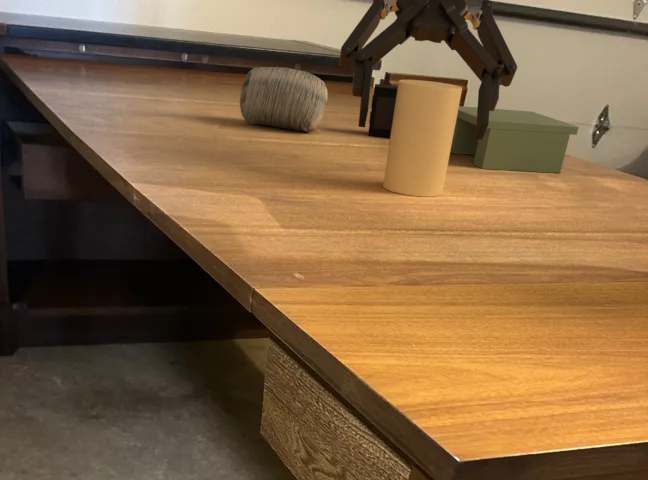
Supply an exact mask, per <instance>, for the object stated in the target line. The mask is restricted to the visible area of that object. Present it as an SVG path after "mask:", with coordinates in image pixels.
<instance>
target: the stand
mask: <svg viewBox="0 0 648 480" xmlns="http://www.w3.org/2000/svg"><path fill="white" fill-rule="evenodd" d="M477 108H478V106H477V107H476V106H475V107H474V106H464V105H463V106H461V105H459V108H458V114H457V119H456V124H455V129H454V135H453V140H452V145H451V150H450V154H452V153H453V155H455V154H456V155H469V154H470V155H469V156H474V160H473V166H476V167H478V168H480V169H482V170H499V171H516V172H533V173H551V174H561V171H562V168H563V164H564V160H565V156H566V152H567V148H568V143H569V141H570V137H571V135H572V136H573V135H574V136H577V135H578V131H579V128H580V127H579V126H577V125H574V124H571V123H568V122H565V121H562V120H559V119H555V118H553V117H549V116H547V115H544V114H541V113H538V112H535V111H529V110H515V109H503V108H495V109H494V111H489V124H488V127H487V129H486V131H485V134H484V136H483V139H482V140H479V139H476V124H477Z"/></svg>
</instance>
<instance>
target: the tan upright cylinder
mask: <svg viewBox="0 0 648 480" xmlns="http://www.w3.org/2000/svg"><path fill="white" fill-rule="evenodd" d="M397 86H398V90H397V97H396V103H395V110H394V117H393V123H392V130H391V136H390V138H389V143H388V150H387V158H386V163H385V170H384V177H383V182H382V186H383V188H384V189H385V190H387V191H390V192H392V193H396V194H399V195H400V194H401V195H404V196H405V195H406V196H411V197H412V196H413V197H424V198H425V197H427V198H428V197H439V196H441V195H443V192H444V186H445V181H446V175H447V171H448V165H449V160H450V156H451V153H450V150H451V145H452V140H453V135H454V129H455V124H456V119H457V114H458V108H459V106H460V104H461V103H460V102H461V99H462V98H461V97H462V92H463V87H462V86H459V85H456V84H450V83H445V82H439V81H431V80H420V79H400V80H399V79H398V83H397Z"/></svg>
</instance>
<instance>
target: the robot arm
mask: <svg viewBox="0 0 648 480" xmlns="http://www.w3.org/2000/svg"><path fill="white" fill-rule="evenodd" d="M372 1H373V2H372V4H371V5H370V7H368V9H367V11H366V12H365V14H364V15H363V16H362V18H361V19H360V21H359V22H358V23H357V25H356V26H355V27H354V29H353V30H352V31H351V33H350V34H349V35H348V37H347V38H346V40H345V41H344V42H343V44H342V46H341V47H340V54H339V62H338V67H339V68H340V69H342V70H347V69H350V70H351V71H352V88H351V93H352V96H353V97H357V98H358V97H359V98H360V107H359V116H358V124H357V125H358V128H365V127H366V123H367V118H368V113H369V105H370V94H371V82H372V72H373V71H372V70H373V67H374V66H375V65H376V64H377V63H378V62H379V61H381V60H382V59H383V58H384V57H385V56H386V55H388V54H389V53H390V52H391V51H393V50H394V49H395V48H396V47H397V46H398V45H400V46H401V45H403V44H404V43H405V42H407V40H409V39H410V38H412V39H414V41H416V42H426V41H429V42H432V43H435V44H442V42H444V43H445V44H446V45H447V46H448V48H449V49H450V50H451V51H455V52H456V53H457V54H458V55H459V57H460V58H461V59H462V60H463V62H464V63H465V64H466V65H467V66H468V67H469V69H470V70H471V71H472V72H473V74H474V75H475V76H476V78H477V79H478V80H479V81H480V85H479V87H478V95H477V124H476V139H479V140H482V139H483V136H484V134H485V131H486V129H487V127H488V124H489V111H494V109H496V107H497V105H498V102H499V100H500V86H502V87H505V88H507V87H509V86H511V84H512V82H513V80H514V77H515V75H516V72H517V70H518V65H517V62H516V60H515V58H514V57H513V54H512V52H511V50H510V48H509V46H508V44H507V42H506V40H505V38H504V36H503V34H502V32H501V30H500V28H499V25H498V24H497V22H496V19H495V18H494V11H493V10H494V9H493V3H492V1H491V0H483V1H482V2H481V5H469V4H468V2H467V0H372ZM391 12H394V14H395V16H396V19H395V20H394V21H393V22H392V23H391V24H389V25H388V26H387V27H386V28H385V29H384V30H382V31H381V32H380V33H379V34H378V35H376V36H375V37H374V38H373V39H372V40H370V41H369V39H370V38H371V36H372V35H373V34H374V32H375V31H376V29H377V28H378V27H379V24H380V22H381V20H383V21H384V20H385V19H386V17H388V16H389V14H390V13H391ZM467 20H468V21H470V23H471V25H472V29H473V30H474V31H476V32H477V36H478V39H479V40H478V39H477V37H476V36H475V34H474V33H473V32H472V31H471V30H470V28H469V25H468V22H467ZM368 41H369V42H368ZM367 42H368V43H367Z"/></svg>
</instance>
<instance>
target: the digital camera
mask: <svg viewBox="0 0 648 480" xmlns="http://www.w3.org/2000/svg"><path fill="white" fill-rule="evenodd" d="M397 90H398V85H390V84H381V83H380V84H379V83H375V84H374V87H373V94H372V98H371V105H370V107H371V109H370V112H369V120H368V124H369V125H368V133H367V135H368V136H373V137H381V138H383V137H384V138H389V139H390V136H391V130H392V123H393V117H394V110H395V103H396V97H397Z"/></svg>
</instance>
